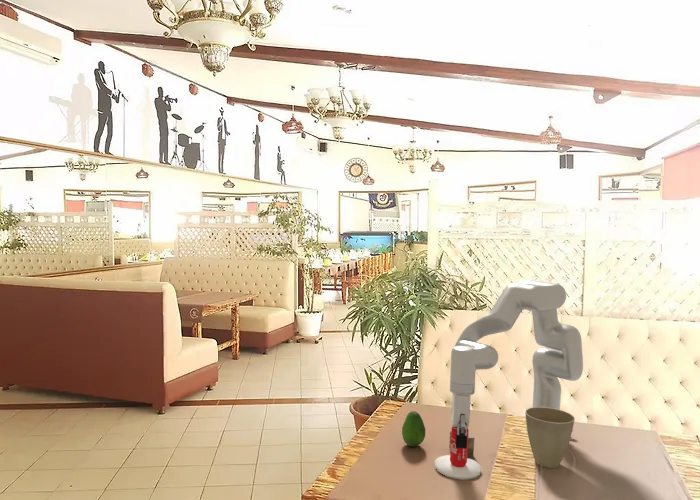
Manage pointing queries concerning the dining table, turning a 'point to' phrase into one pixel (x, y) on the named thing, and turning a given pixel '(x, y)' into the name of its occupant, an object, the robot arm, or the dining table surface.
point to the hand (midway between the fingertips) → (460, 441)
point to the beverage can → (457, 450)
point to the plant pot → (548, 434)
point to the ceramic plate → (457, 468)
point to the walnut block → (470, 444)
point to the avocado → (413, 429)
